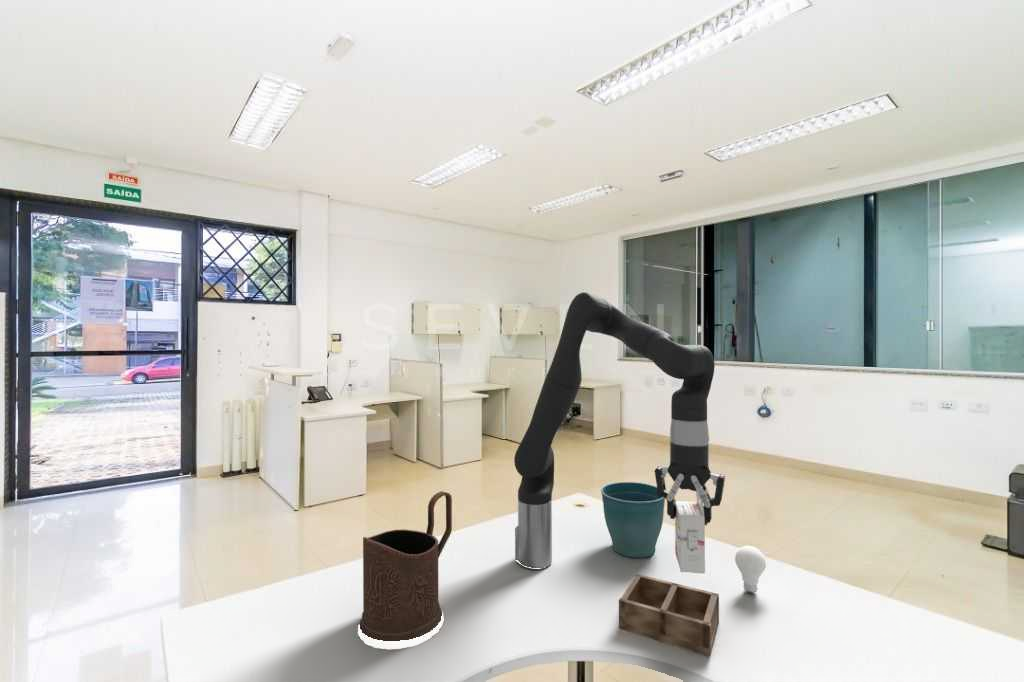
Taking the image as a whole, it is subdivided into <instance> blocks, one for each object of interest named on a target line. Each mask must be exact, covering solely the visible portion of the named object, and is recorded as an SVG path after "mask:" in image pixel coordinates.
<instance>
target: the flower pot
mask: <svg viewBox="0 0 1024 682" xmlns="http://www.w3.org/2000/svg"><path fill="white" fill-rule="evenodd" d="M600 492H601V496H602V497H601V499H602V506H603V515H604V519H605V525H606V528H607V529H608V533H609V536H610V539H611V542H612V549H613V550H614V552H616V553H617V554H619V555H621V556H624V557H629V558H634V559H636V558H637V559H638V558H639V559H641V558H647V557H650V556H651V557H652V555H653V554H655V552H656V547H657V542H658V540H659V539H658V538H659V536H660V533H661V531H662V527H663V523H664V514H665V501H666V500H665V498H664V497H660V496H659V495H658V491H657V485H656V486H655V485H652V484H649V483H643V482H635V481H632V482H631V481H624V482H623V481H621V482H612V483H609V484H606V485H603V486H602V488H601V489H600Z"/></svg>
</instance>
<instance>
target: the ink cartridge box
mask: <svg viewBox="0 0 1024 682" xmlns="http://www.w3.org/2000/svg"><path fill="white" fill-rule="evenodd" d="M695 497H696V501H684V500H683V501H682V500H676V516H675V518H674V529H675V531H674V532H675V533H674V535H675V536H674V540H675V541H674V544H675V546H674V548H675V549H674V551H675V556H676V560H677V563H678V567H679V570H680V571H679V572H680V573H693V574H705V573H706V551H705V550H706V549H705V548H706V544H705V543H706V539H705V538H706V535H705V533H706V531H705V529H706V528H705V527H706V525H705V519H704V508H703V506H704V503H703V501H702V499H701V497H700V496H699V494H698V492H697V491H695Z"/></svg>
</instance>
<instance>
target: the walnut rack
mask: <svg viewBox="0 0 1024 682" xmlns="http://www.w3.org/2000/svg"><path fill="white" fill-rule="evenodd" d="M719 623H720V594H719V593H716V592H713V591H712V592H711V591H707V590H705V589H704V590H703V589H700V588H696V587H692V586H687V585H683V584H680V583H675V582H671V581H667V580H662V579H660V578H655V577H652V576H648V575H643V574H639V573H635V574H634V578H632V581H631V582H630V583H629V585H628V586H627V588H626V589H625V592H623V594H622V596H621V597H620V598H619V599H618V629H620V630H623V631H626V632H629V633H633V634H635V635H639V636H641V637H646V638H648V639H652V640H655V641H658V642H661V643H664V644H667V645H670V646H674V647H677V648H681V649H684V650H687V651H690V652H693V653H696V654H699V655H703V656H706V657H709V658H711V655H712V653H713V647H714V643H715V641H716V636H717V631H718V627H719Z"/></svg>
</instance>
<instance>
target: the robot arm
mask: <svg viewBox="0 0 1024 682" xmlns="http://www.w3.org/2000/svg"><path fill="white" fill-rule="evenodd" d="M563 322H564V323H563V327H562V331H561V334H560V337H559V341H558V343H557V344H558V345H557V347H556V349H555V352H554V355H553V359H552V360H551V364H550V367H549V369H548V371H547V373H546V375H545V379H544V381H543V384H542V386H541V390H540V393H539V396H538V399H537V402H536V403H535V407H534V409H533V414H532V417H531V420H530V422H529V425H528V427H527V430H526V431H525V433H524V436H523V438H522V439H521V441H520V444H519V445H518V447H517V449H516V451H515V454H514V458H513V459H514V461H513V462H514V467H515V470H516V471H517V473H518V474H519V475H520V476H521V481H520V485H519V487H518V489H517V525H516V526H515V527H514V533H515V534H514V546H515V547H514V561H515V560H518V561H519V562H520V563H521V564H522V565H524V566H527V567H531V568H544V567H547V566H549V565H550V564H551V563H553V546H552V545H553V525H552V524H553V517H552V515H553V514H552V513H553V512H552V511H553V510H552V509H553V508H552V506H553V504H552V503H553V501H552V497H553V490H554V486H555V485H554V484H555V453H554V450H553V448H552V445H553V442H554V438H555V435H556V434H557V432H558V431H559V428H560V427H561V425H562V423H563V422H564V421H565V419H566V418H567V415H568V414H569V412H570V410H571V408H572V407H573V405H574V403H575V400H576V398H577V395H578V392H579V391H580V387H581V384H582V376H583V374H582V366H581V357H580V353H581V347H582V343H583V340H584V337H585V335H586V332H591V333H597V334H602V335H605V336H610V337H613V338H615V339H617V340H619V341H621V343H623V344H624V345H625V346H626V347H627V348H628V349H630V350H631V351H633V352H635V353H636V354H638V355H640V356H642V357H644V358H645V359H647V360H649V361H652V363H654V365H655V366H657V367H658V368H659V369H660V370H661V371H662V372H663V373H664V374H666V375H667V376H668V377H669V376H670V377H672V378H674V379H678V380H682V381H683V382H682V384H681V387H680V388H679V389H677V390H675V391H674V392H673V393H672V395H671V405H670V406H671V407H670V408H671V410H670V411H671V412H670V413H671V416H670V417H671V420H670V426H669V427H670V428H669V449H670V450H669V465H668V467H666V466H665V467H663V466H661V465H659V466H657V467H656V468H655V469H654V478H655V481H656V482H655V483H656V487H657V491H658V495H659V496H660V497H664V498H665V499H666V500H665V501H666V514H667V516H669V518H670V519H671V520H675V516H676V501H677V500H676V498H675V497H676V495H677V493H678V491H679V490H690V491H693V492H696V491H697V492H698V494H699V496H700V497H701V499H702V501H703V508H704V519H705V526H708V525H709V523H711V521H712V517H713V516H712V507H719V506H720V505H721V502H722V499H723V493H724V488H725V487H724V486H725V481H726V476H725V474H722V473H721V474H717V473H713V472H712V471H711V469H710V467H709V462H710V461H709V450H710V449H709V445H710V444H709V442H710V436H709V435H710V434H709V427H708V426H709V424H708V397H709V395H710V391H711V388H712V383H713V379H714V376H715V367H716V366H715V359H714V356H713V353H712V352H711V350H710V349H709V348H708V347H706V346H705V345H702V344H680V343H677V342H676V341H675V338H673V336H672V335H670V334H669V333H667V332H666V331H664V330H661V329H659V328H657V327H655V326H653V325H651V324H648V323H646V322H643V321H640V320H637V319H635V318H633V317H631V316H629V315H627V314H625V313H624V312H623V311H622V310H620V309H619V308H617V307H616V306H614V305H613V304H612V303H611V302H609V300H606V299H605V298H603V297H600V296H597V295H594V294H592V293H588V292H580V293H578V294H577V295H575V296H574V297H573V299H572V301H571V303H570V304H569V306H568V309H567V312H566V315H565V320H564V321H563ZM667 474H668V475H669V476H670V478H671V479H672V481H673V484H672V485H671V488H670V490H667V488H666V481H665V480H666V479H665V478H666V477H667ZM710 479H711V481H712V484H713V486H715V492H714V497H711V496H710V494H709V493H710V492H709V491H708V488H707V486H706V483H707V482H708V481H709V480H710ZM551 565H552V564H551ZM551 565H550V566H551ZM550 566H549V567H550ZM547 568H548V567H547ZM544 569H545V568H544Z"/></svg>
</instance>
